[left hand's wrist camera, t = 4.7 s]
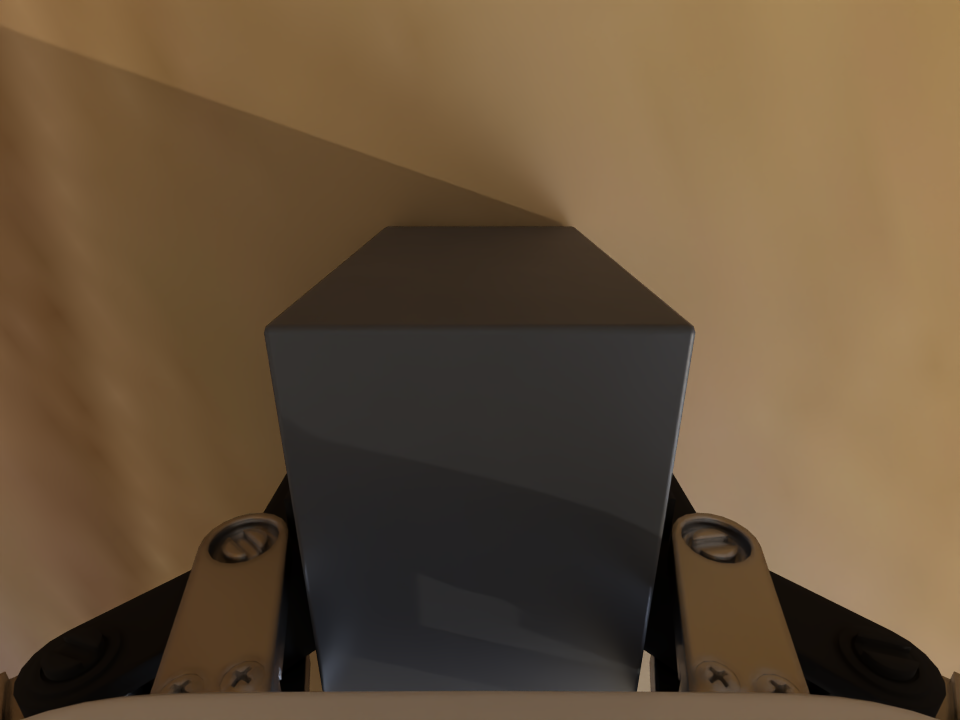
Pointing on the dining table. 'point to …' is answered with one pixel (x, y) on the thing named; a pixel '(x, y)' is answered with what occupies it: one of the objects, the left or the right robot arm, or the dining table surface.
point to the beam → (479, 459)
